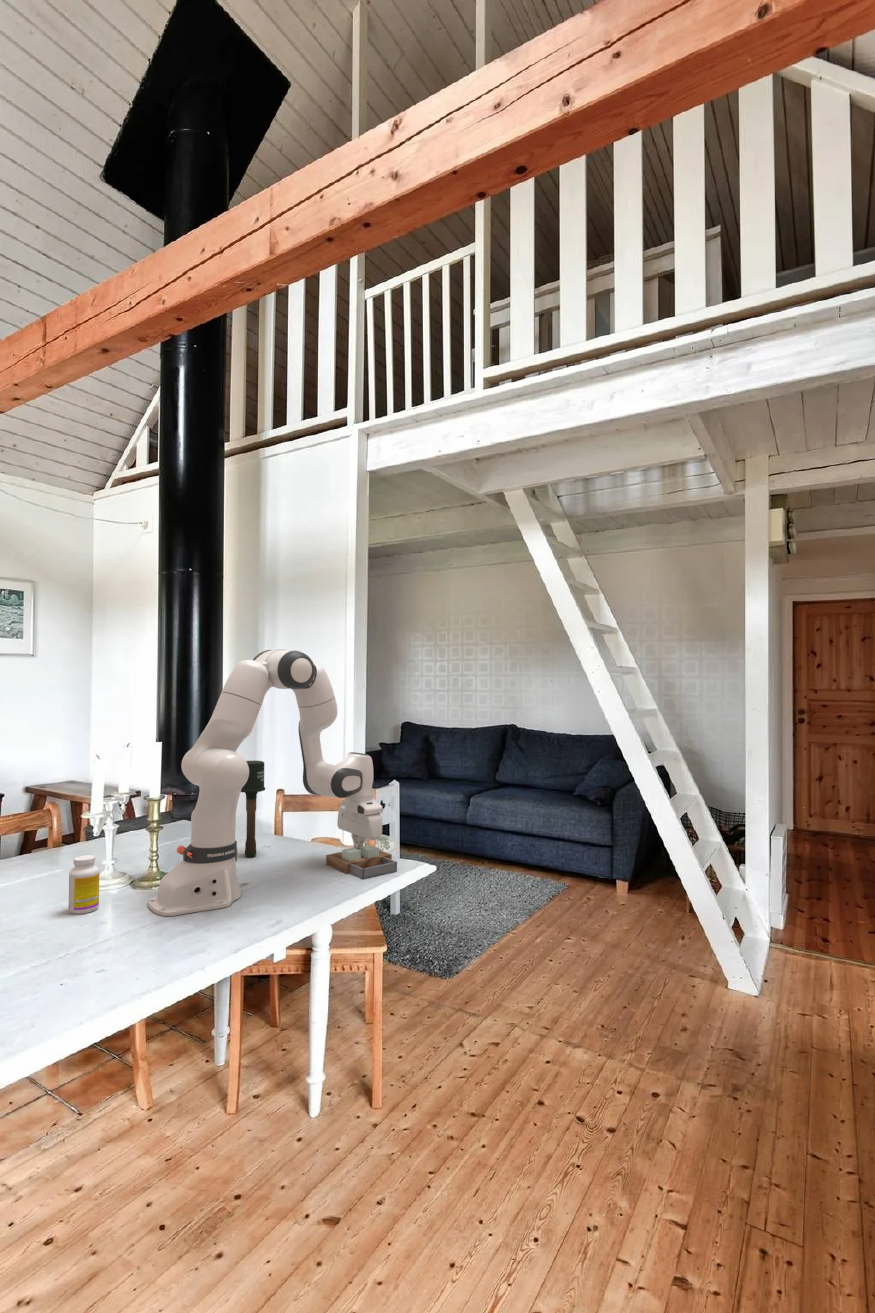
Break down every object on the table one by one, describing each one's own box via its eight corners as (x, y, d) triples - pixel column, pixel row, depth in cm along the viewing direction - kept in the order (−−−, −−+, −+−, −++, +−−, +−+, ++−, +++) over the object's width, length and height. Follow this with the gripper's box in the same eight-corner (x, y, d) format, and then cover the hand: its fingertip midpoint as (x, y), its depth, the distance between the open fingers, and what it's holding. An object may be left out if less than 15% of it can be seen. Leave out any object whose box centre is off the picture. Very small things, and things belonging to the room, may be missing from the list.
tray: (362, 879, 190) (363, 869, 190) (350, 873, 195) (350, 864, 195) (396, 871, 197) (396, 862, 197) (383, 866, 203) (383, 856, 203)
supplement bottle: (104, 908, 165) (105, 856, 166) (78, 917, 160) (79, 863, 160) (88, 903, 169) (89, 852, 169) (62, 911, 163) (63, 858, 163)
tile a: (349, 861, 197) (349, 852, 197) (342, 858, 200) (342, 849, 200) (360, 858, 200) (360, 850, 200) (353, 856, 203) (353, 847, 203)
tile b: (368, 858, 200) (368, 850, 200) (360, 855, 203) (360, 847, 203) (379, 856, 203) (379, 847, 203) (371, 853, 206) (371, 845, 206)
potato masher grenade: (260, 860, 208) (261, 764, 208) (232, 860, 208) (234, 763, 209) (267, 853, 216) (268, 760, 217) (241, 852, 216) (242, 760, 217)
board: (347, 874, 194) (347, 864, 194) (326, 865, 204) (326, 855, 204) (391, 864, 205) (391, 854, 205) (369, 855, 214) (369, 846, 214)
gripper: (332, 800, 214) (332, 843, 214) (368, 810, 198) (368, 857, 198) (349, 798, 218) (348, 840, 218) (386, 808, 203) (385, 853, 202)
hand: (358, 848), depth 208 cm, fingers closed
